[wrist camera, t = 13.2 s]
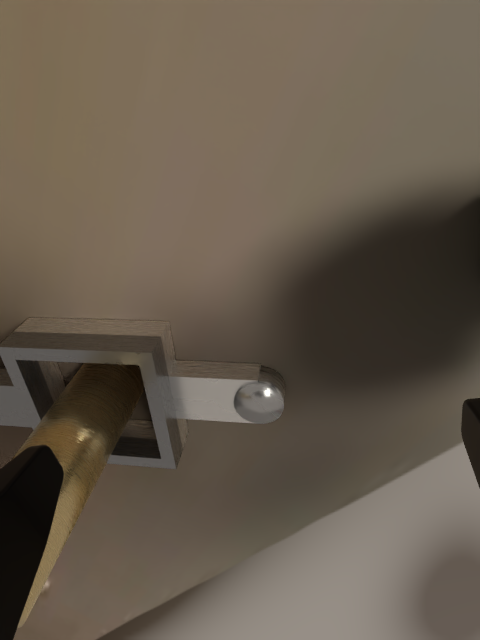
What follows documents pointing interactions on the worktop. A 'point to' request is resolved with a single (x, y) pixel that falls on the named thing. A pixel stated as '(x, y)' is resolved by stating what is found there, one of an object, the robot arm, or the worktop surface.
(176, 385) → the ball-tipped frame bar
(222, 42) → the worktop surface
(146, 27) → the worktop surface
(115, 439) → the brass pin
